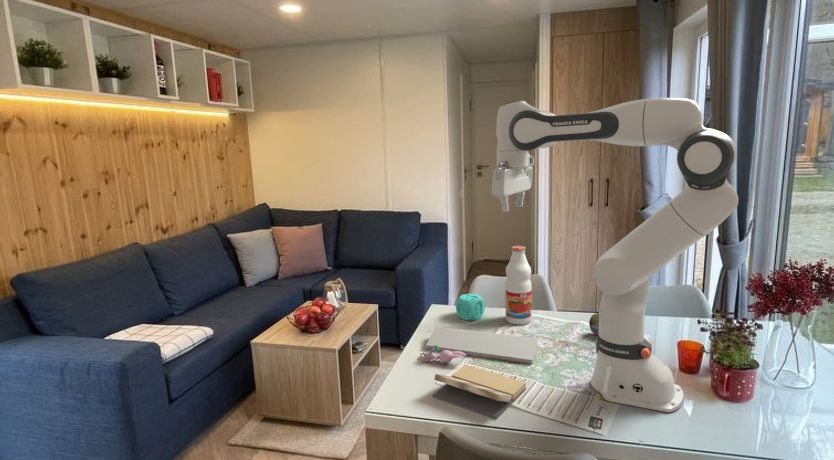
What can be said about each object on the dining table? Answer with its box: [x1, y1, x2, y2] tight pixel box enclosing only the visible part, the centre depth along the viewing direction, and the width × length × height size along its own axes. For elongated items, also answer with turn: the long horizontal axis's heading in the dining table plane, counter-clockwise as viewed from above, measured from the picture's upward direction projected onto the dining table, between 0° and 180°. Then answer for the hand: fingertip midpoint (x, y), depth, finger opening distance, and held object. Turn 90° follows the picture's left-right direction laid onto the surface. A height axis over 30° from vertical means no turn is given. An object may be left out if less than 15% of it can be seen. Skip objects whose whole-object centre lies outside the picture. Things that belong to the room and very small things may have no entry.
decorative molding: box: [425, 326, 539, 364], centre depth 155 cm, size 34×5×10 cm
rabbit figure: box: [417, 345, 467, 364], centre depth 147 cm, size 6×6×15 cm
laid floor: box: [432, 364, 527, 420], centre depth 129 cm, size 19×17×2 cm
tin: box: [588, 312, 599, 337], centre depth 159 cm, size 15×3×8 cm, turn 40°
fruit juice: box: [504, 245, 533, 326], centre depth 176 cm, size 9×9×28 cm
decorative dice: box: [455, 293, 486, 322], centre depth 183 cm, size 8×8×8 cm
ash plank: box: [433, 374, 512, 402], centre depth 126 cm, size 19×8×2 cm, turn 53°
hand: (512, 208), depth 139 cm, fingers open, 8 cm apart
